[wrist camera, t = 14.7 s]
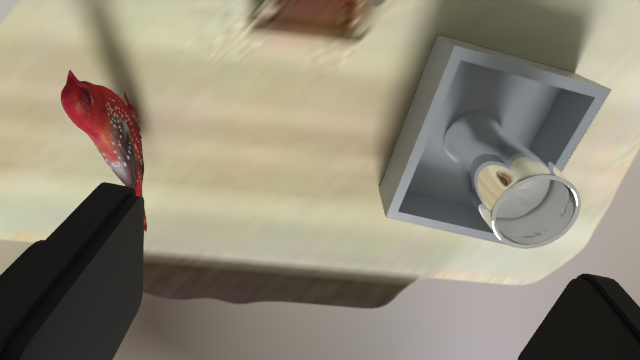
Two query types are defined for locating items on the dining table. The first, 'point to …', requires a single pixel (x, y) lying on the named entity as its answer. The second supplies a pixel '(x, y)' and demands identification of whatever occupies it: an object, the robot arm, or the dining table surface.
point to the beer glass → (511, 183)
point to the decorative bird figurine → (107, 128)
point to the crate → (488, 97)
